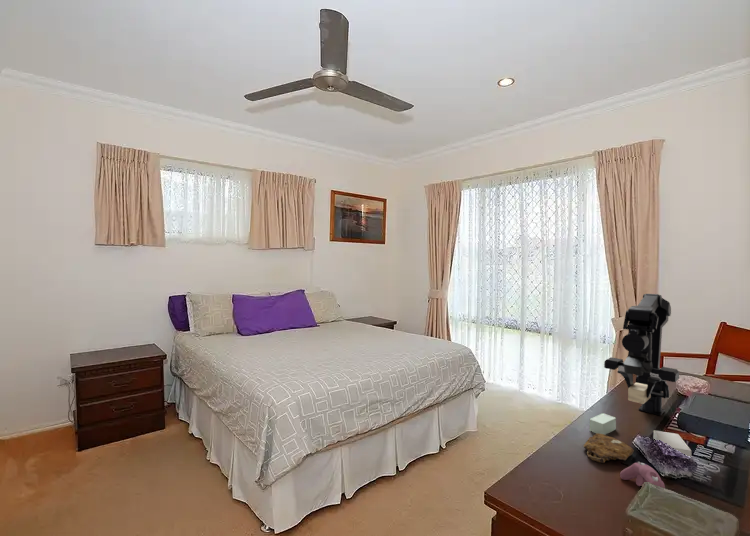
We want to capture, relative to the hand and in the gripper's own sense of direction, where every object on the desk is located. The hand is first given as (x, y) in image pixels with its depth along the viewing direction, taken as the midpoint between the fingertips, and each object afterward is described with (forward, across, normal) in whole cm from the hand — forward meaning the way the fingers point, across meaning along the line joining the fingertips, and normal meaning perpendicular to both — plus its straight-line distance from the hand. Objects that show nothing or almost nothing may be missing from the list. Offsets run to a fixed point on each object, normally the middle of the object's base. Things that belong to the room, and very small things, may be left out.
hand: (639, 395), depth 115 cm
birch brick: (+1, 0, 0) cm, 1 cm away
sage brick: (+12, -8, -9) cm, 16 cm away
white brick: (+12, +9, -6) cm, 16 cm away
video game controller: (+12, +9, -35) cm, 38 cm away
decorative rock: (+12, -2, -24) cm, 27 cm away
